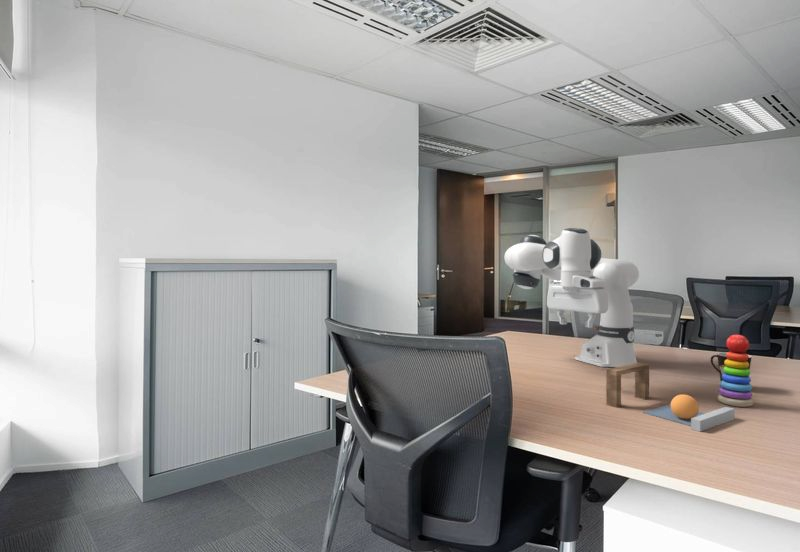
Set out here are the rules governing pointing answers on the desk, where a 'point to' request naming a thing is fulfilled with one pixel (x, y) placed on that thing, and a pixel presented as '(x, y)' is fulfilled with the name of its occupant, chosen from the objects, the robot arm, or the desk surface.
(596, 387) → the desk surface
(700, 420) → the stopper wall
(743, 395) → the stacking toy
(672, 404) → the ball
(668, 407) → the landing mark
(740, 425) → the desk surface
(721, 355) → the coffee mug
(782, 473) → the desk surface
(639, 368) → the bridge
